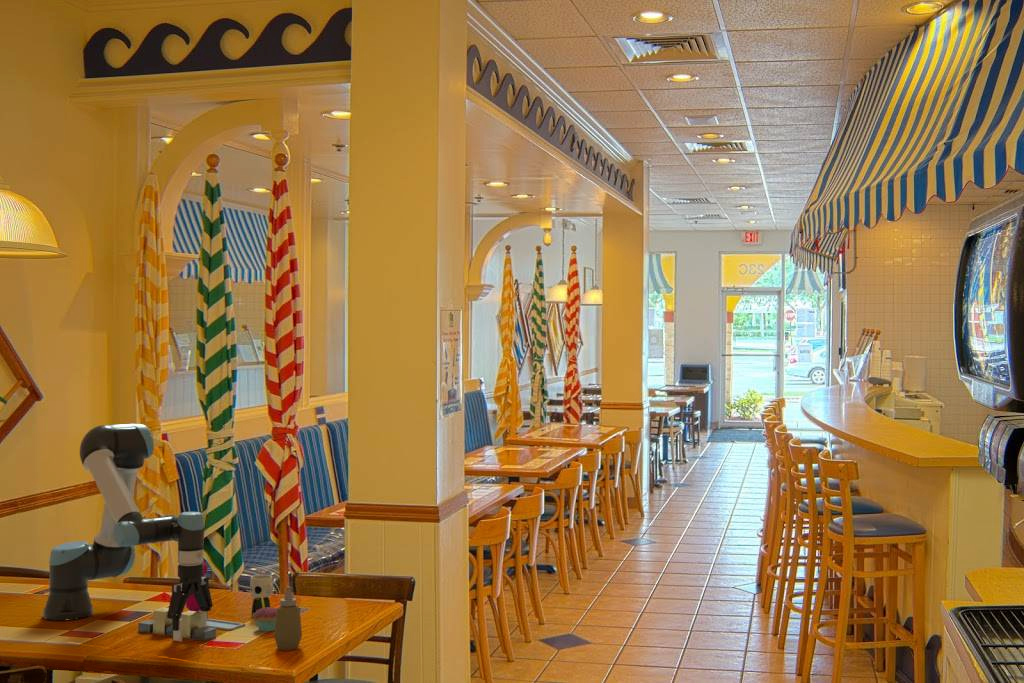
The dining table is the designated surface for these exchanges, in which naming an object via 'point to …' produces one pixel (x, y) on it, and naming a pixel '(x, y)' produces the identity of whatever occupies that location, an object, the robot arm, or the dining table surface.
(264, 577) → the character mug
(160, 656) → the dining table surface
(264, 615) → the cupcake
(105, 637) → the dining table surface
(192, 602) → the pepper mill
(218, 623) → the tray
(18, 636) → the dining table surface
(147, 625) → the gray notched bar
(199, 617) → the beige rectangular block
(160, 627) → the cream upright block
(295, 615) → the squeeze bottle
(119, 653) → the dining table surface
